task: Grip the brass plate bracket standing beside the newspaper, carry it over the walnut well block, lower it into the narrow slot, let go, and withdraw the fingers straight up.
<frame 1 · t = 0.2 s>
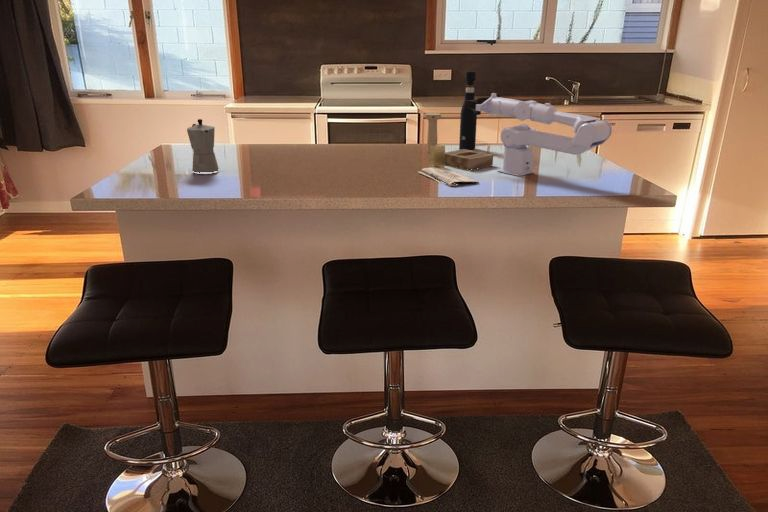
hand: (473, 102, 208), 22 cm above the table, tool horizontal, fingers open, 7 cm apart
well block: (466, 165, 213), on the table
coffeepot: (205, 172, 205), on the table
bracket: (436, 168, 208), on the table
newspaper: (447, 180, 195), on the table
handle: (431, 153, 233), on the table
wine bottle: (467, 149, 240), on the table
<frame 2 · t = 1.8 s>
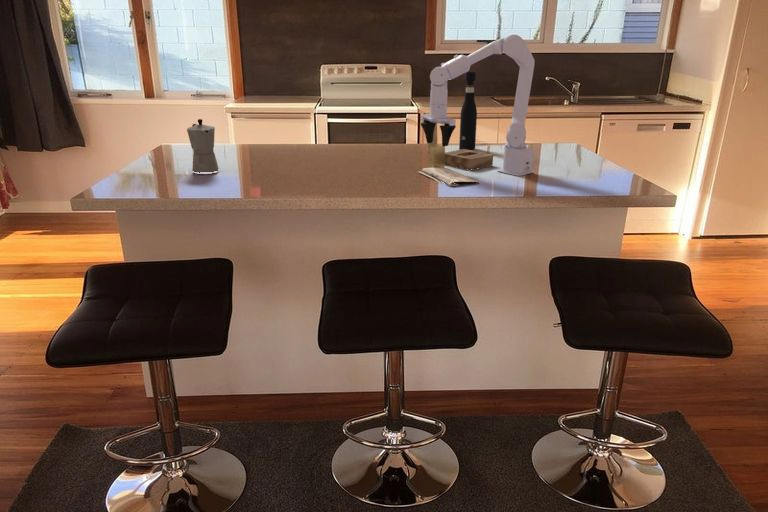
hand: (437, 144, 204), 8 cm above the table, tool pointing down, fingers open, 7 cm apart
nothing on the table moved.
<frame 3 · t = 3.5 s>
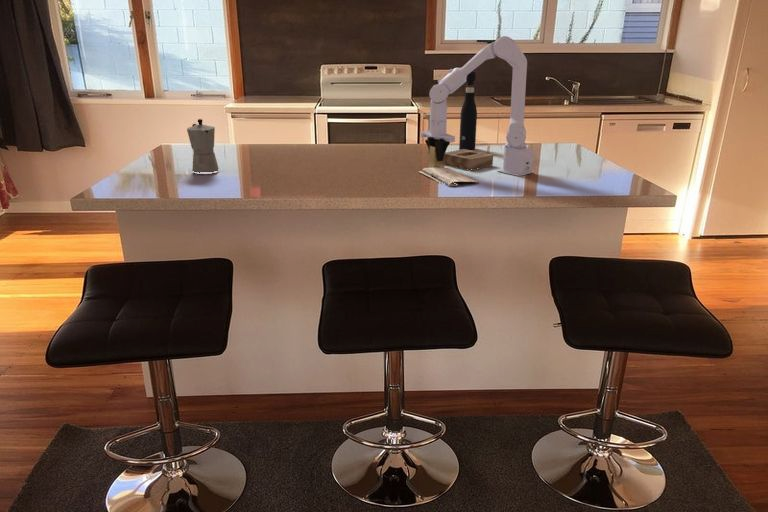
hand: (437, 160, 206), 3 cm above the table, tool pointing down, fingers closed on bracket, 2 cm apart
bracket: (436, 168, 208), on the table, touching gripper
everything else where it was.
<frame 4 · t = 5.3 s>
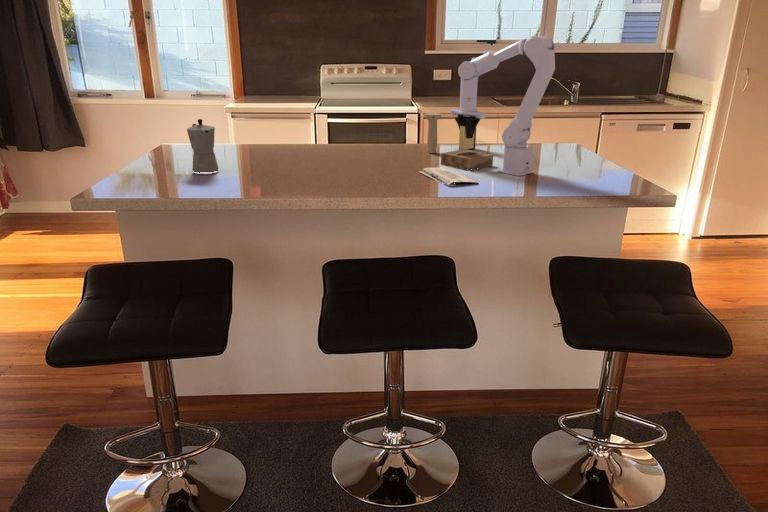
hand: (466, 137, 209), 10 cm above the table, tool pointing down, fingers closed on bracket, 2 cm apart
bracket: (466, 148, 210), point 6 cm above the table, touching gripper
everything else where it was.
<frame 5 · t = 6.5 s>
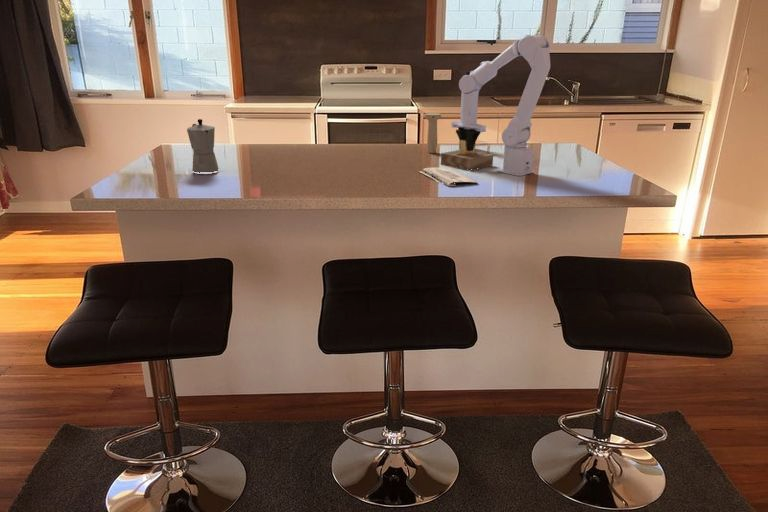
hand: (467, 150, 211), 5 cm above the table, tool pointing down, fingers closed on bracket, 2 cm apart
bracket: (466, 161, 212), point 1 cm above the table, touching gripper
everything else where it was.
when the fingers open (5 cm above the table, at t = 7.4 s): bracket stays where it is, resting in well block.
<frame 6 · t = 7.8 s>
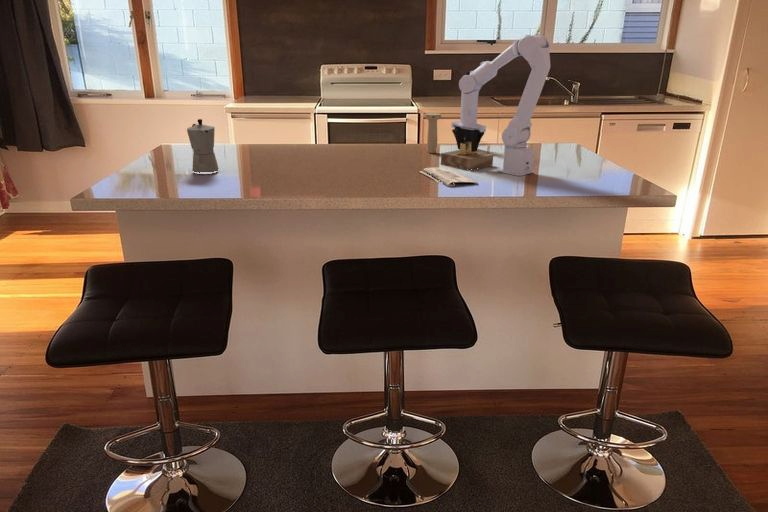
hand: (467, 150, 211), 5 cm above the table, tool pointing down, fingers open, 6 cm apart
bracket: (466, 165, 213), resting in well block
everything else where it was.
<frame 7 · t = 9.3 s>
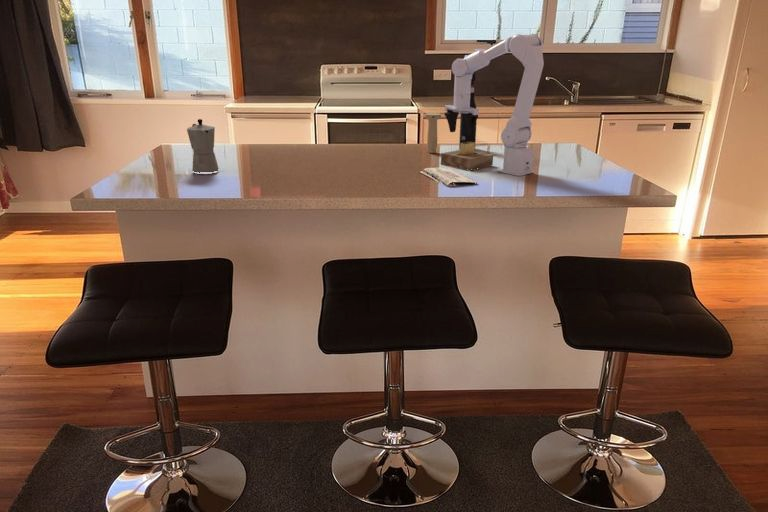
hand: (460, 133, 213), 10 cm above the table, tool pointing down, fingers open, 7 cm apart
nothing on the table moved.
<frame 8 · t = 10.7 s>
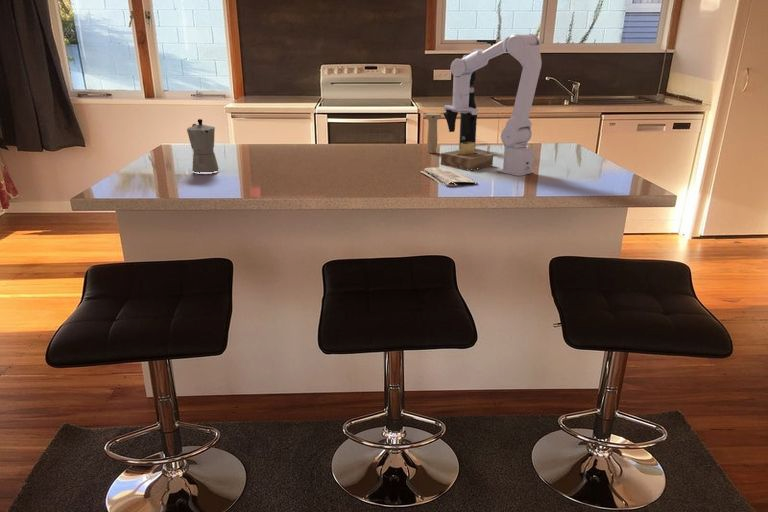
hand: (459, 133, 214), 10 cm above the table, tool pointing down, fingers open, 7 cm apart
nothing on the table moved.
at the end: bracket 0.0 cm from the target spot, resting in well block; bracket tilted 0°; the gripper is holding nothing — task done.
